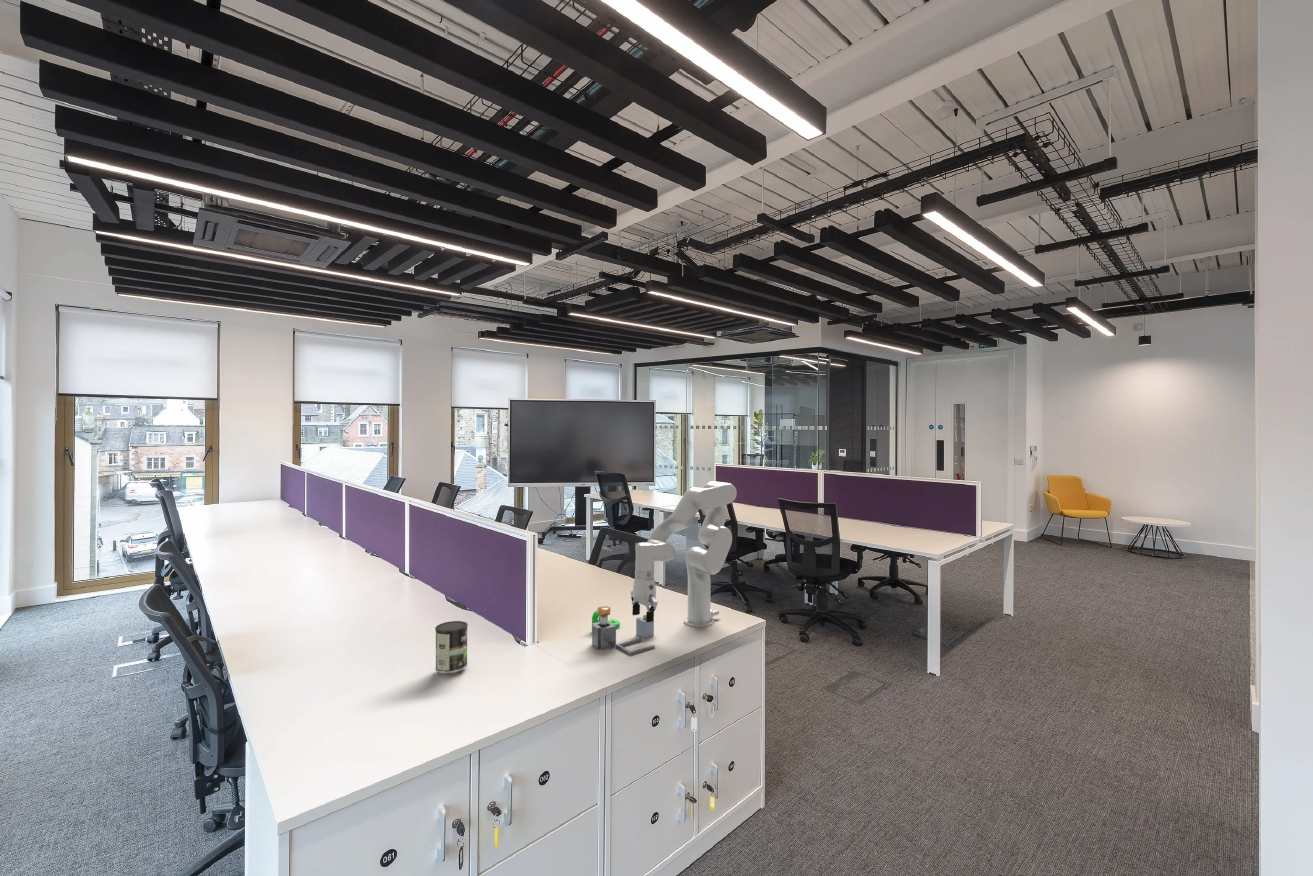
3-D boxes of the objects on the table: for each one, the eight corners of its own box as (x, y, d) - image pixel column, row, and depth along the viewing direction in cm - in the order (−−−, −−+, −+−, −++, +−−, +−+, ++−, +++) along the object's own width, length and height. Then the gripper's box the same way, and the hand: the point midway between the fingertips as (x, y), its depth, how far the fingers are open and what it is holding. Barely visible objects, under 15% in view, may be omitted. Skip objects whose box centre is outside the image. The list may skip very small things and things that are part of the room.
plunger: (606, 627, 206) (606, 605, 206) (612, 631, 202) (612, 608, 202) (595, 630, 203) (595, 607, 203) (601, 634, 199) (601, 611, 199)
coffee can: (469, 660, 189) (470, 619, 189) (464, 672, 179) (464, 630, 179) (439, 662, 187) (439, 621, 187) (431, 674, 177) (431, 631, 177)
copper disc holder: (607, 640, 208) (607, 620, 208) (617, 646, 201) (617, 625, 201) (590, 644, 203) (590, 624, 203) (599, 651, 197) (600, 629, 197)
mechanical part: (602, 635, 214) (602, 614, 214) (591, 631, 218) (592, 611, 218) (622, 626, 223) (622, 607, 223) (612, 623, 227) (612, 604, 227)
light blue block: (646, 633, 215) (646, 612, 215) (653, 637, 211) (653, 615, 211) (636, 636, 213) (636, 614, 213) (643, 639, 208) (643, 618, 208)
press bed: (640, 640, 207) (640, 636, 207) (658, 651, 197) (658, 646, 197) (611, 648, 200) (611, 644, 200) (628, 659, 190) (628, 654, 190)
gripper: (665, 578, 207) (663, 623, 207) (640, 569, 221) (638, 611, 221) (649, 580, 203) (647, 626, 202) (624, 570, 217) (623, 613, 216)
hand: (642, 618), depth 211 cm, fingers open, 9 cm apart
